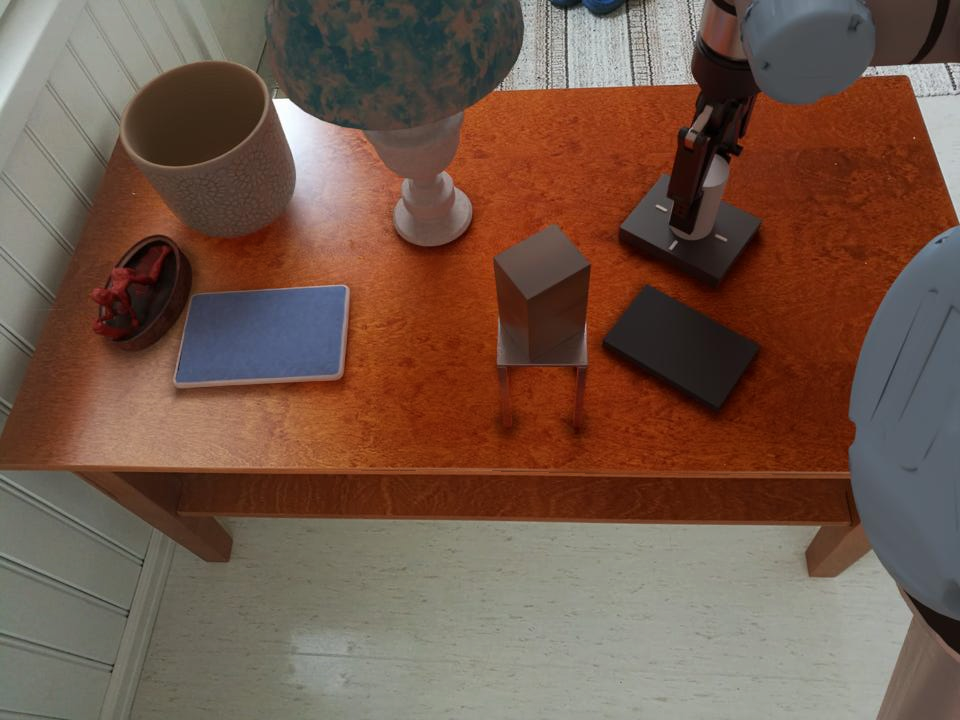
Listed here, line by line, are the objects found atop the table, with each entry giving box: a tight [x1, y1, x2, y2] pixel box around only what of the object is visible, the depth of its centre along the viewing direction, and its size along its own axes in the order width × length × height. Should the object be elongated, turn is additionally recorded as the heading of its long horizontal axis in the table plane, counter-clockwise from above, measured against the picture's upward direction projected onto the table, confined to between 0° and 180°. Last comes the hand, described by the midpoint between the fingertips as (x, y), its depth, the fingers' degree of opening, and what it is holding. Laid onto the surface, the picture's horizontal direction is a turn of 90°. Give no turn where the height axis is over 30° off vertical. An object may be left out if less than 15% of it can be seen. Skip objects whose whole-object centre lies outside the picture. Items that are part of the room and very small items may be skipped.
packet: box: [492, 222, 592, 362], centre depth 62 cm, size 5×6×10 cm
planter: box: [118, 59, 297, 239], centre depth 88 cm, size 17×17×15 cm
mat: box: [601, 283, 761, 413], centre depth 80 cm, size 14×9×1 cm, turn 53°
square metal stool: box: [496, 311, 589, 428], centre depth 73 cm, size 8×8×14 cm
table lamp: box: [264, 0, 525, 247], centre depth 74 cm, size 24×24×40 cm
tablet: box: [172, 284, 351, 389], centre depth 85 cm, size 19×13×1 cm, turn 91°
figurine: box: [90, 233, 193, 353], centre depth 86 cm, size 15×10×10 cm, turn 4°
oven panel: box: [617, 172, 763, 290], centre depth 87 cm, size 13×10×2 cm
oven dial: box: [669, 154, 731, 240], centre depth 82 cm, size 5×5×9 cm
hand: (694, 210), depth 84 cm, fingers closed on oven dial, 5 cm apart
